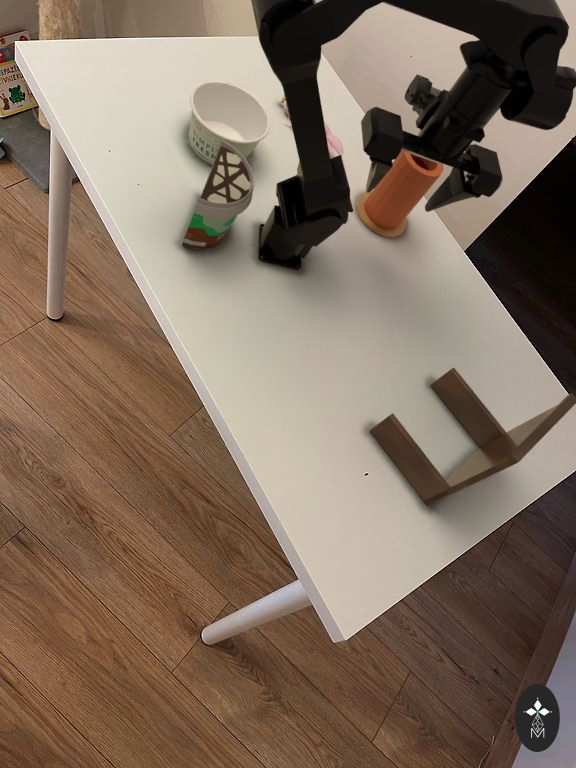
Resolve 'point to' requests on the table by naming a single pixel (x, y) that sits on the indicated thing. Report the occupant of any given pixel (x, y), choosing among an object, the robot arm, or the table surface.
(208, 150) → the food container
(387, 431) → the wooden stand
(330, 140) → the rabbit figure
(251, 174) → the food container
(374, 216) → the jar
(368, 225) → the disc
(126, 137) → the table surface
